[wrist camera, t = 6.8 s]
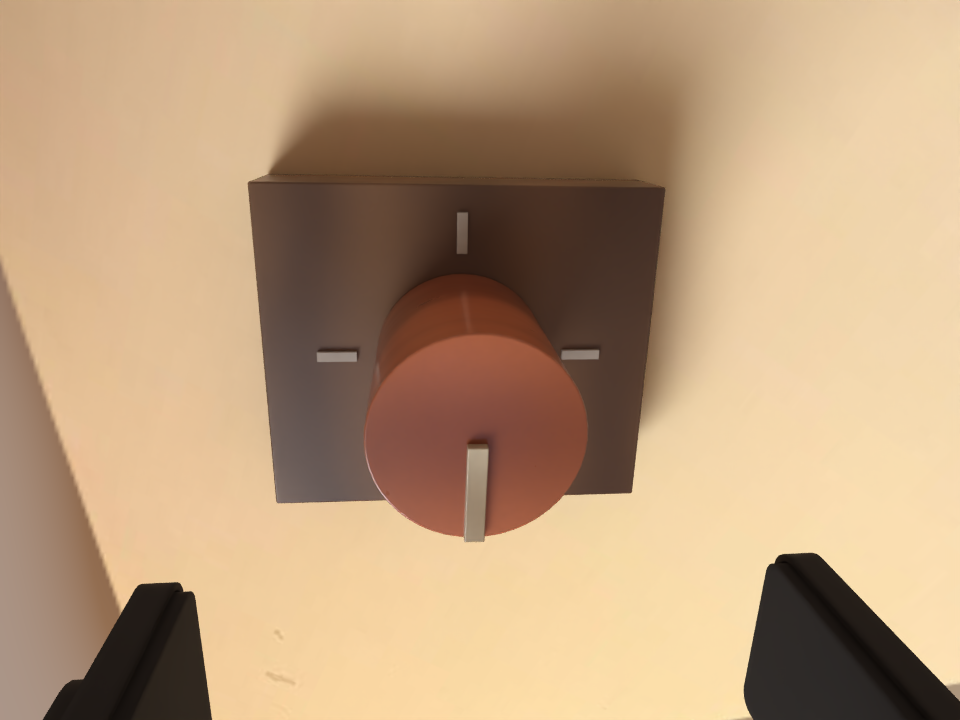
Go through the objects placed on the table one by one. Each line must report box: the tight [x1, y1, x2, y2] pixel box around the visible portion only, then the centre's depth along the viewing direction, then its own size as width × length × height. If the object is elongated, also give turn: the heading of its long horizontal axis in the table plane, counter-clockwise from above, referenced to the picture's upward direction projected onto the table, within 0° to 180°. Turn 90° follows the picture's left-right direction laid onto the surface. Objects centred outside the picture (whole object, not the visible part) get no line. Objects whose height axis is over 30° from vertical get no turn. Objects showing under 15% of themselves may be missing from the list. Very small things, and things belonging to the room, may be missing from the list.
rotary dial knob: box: [363, 274, 588, 542], centre depth 21 cm, size 6×6×7 cm
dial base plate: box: [248, 174, 665, 503], centre depth 26 cm, size 14×12×3 cm
